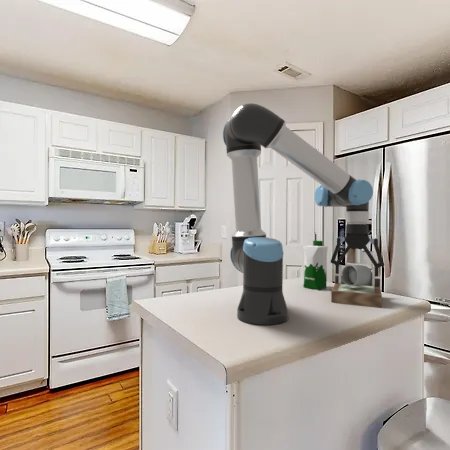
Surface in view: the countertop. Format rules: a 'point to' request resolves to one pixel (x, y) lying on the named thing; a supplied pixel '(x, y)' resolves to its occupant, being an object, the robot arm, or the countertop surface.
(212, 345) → the countertop surface
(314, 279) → the milk carton
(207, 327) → the countertop surface
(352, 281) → the ceramic mug
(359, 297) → the step
